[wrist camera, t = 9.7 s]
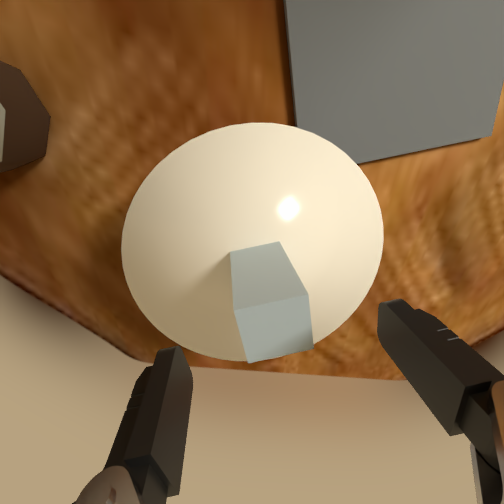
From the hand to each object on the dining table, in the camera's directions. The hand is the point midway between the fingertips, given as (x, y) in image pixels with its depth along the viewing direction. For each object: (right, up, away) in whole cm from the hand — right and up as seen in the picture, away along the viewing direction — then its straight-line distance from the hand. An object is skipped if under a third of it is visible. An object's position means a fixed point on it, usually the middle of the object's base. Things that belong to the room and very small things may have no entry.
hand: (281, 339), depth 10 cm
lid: (-1, +3, +6) cm, 7 cm away
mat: (+10, +20, +8) cm, 23 cm away
